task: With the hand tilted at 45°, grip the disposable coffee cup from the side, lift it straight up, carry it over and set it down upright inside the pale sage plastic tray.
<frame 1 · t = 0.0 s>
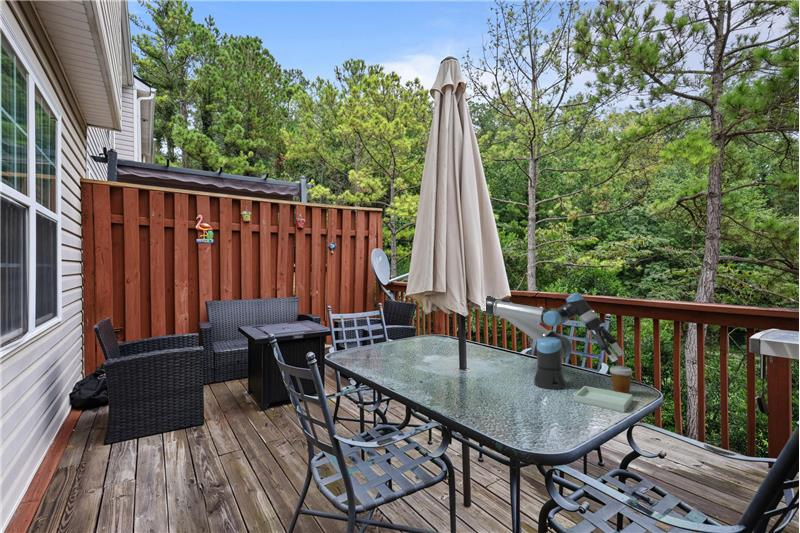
hand: (618, 357, 189), 15 cm above the table, tool tilted 35°, fingers open, 13 cm apart
sage tray: (602, 401, 174), on the table
disposable coffee cup: (621, 394, 183), on the table
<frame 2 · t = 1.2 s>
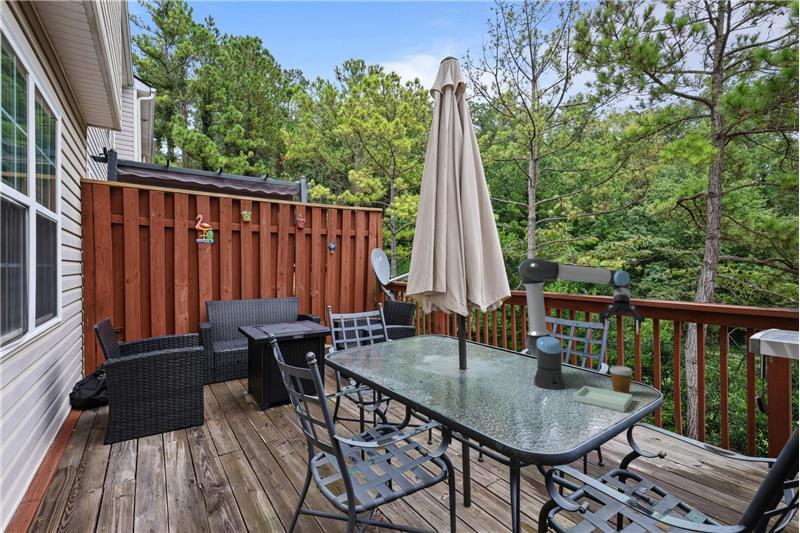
hand: (621, 331, 191), 27 cm above the table, tool tilted 45°, fingers open, 13 cm apart
nothing on the table moved.
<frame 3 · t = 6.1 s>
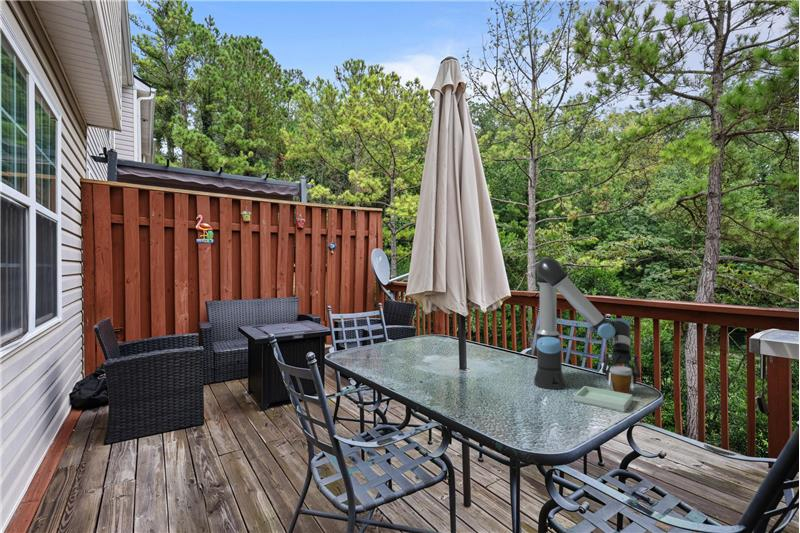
hand: (620, 387, 180), 4 cm above the table, tool tilted 45°, fingers closed on disposable coffee cup, 8 cm apart
disposable coffee cup: (621, 394, 183), on the table, touching gripper
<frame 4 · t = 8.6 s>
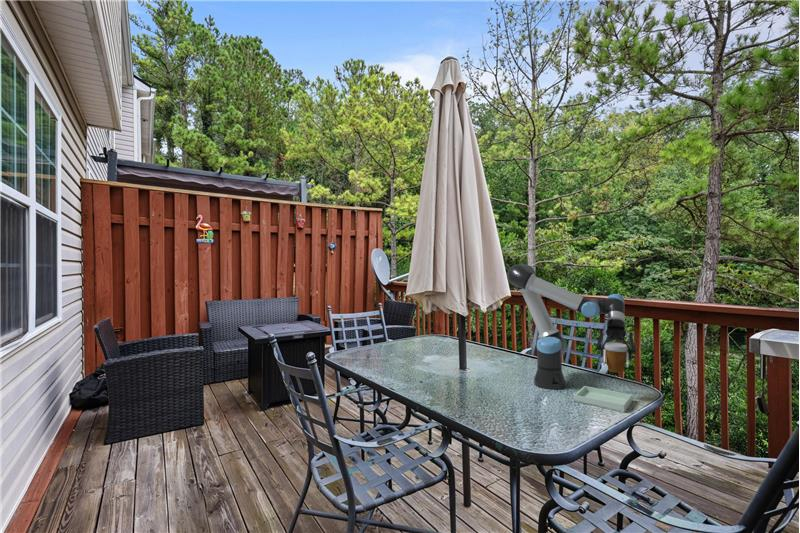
hand: (615, 364, 175), 16 cm above the table, tool tilted 45°, fingers closed on disposable coffee cup, 8 cm apart
disposable coffee cup: (615, 370, 178), point 12 cm above the table, touching gripper
when the fingers open (6 cm above the table, at t = 11.6 s): disposable coffee cup drops 1 cm, resting on sage tray.
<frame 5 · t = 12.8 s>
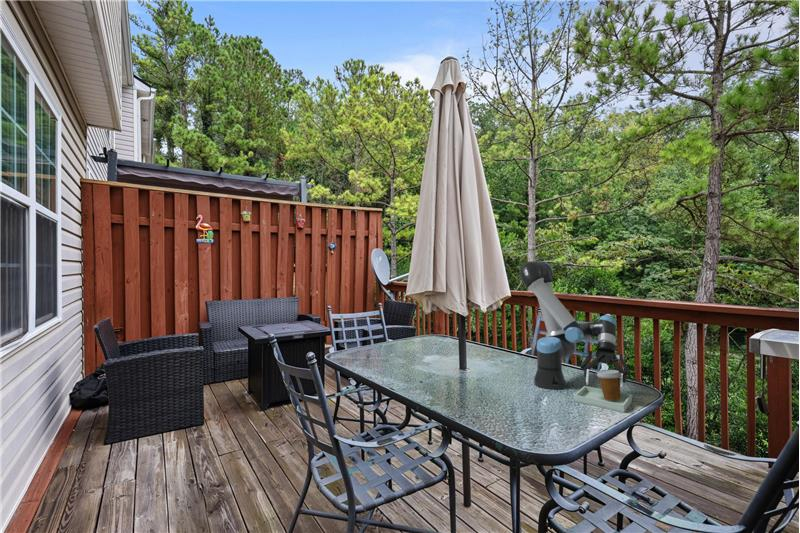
hand: (603, 385, 172), 7 cm above the table, tool tilted 45°, fingers open, 13 cm apart
disposable coffee cup: (612, 399, 173), point 1 cm above the table, touching sage tray
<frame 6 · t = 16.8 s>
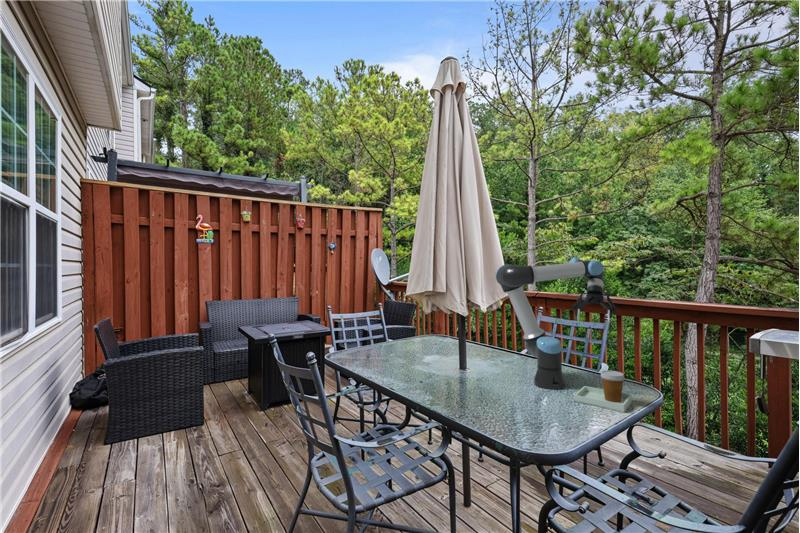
hand: (592, 321, 193), 33 cm above the table, tool tilted 45°, fingers open, 13 cm apart
at the end: disposable coffee cup inside the target area on the sage tray (4.2 cm from its centre), point 0.6 cm above the sage tray's base; disposable coffee cup tilted 0°; the gripper is holding nothing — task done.
